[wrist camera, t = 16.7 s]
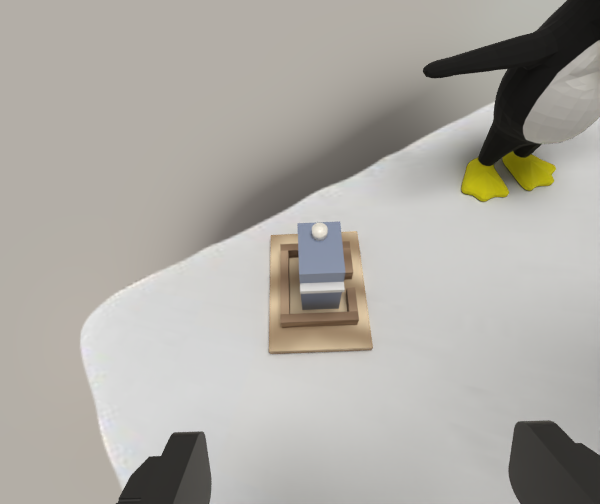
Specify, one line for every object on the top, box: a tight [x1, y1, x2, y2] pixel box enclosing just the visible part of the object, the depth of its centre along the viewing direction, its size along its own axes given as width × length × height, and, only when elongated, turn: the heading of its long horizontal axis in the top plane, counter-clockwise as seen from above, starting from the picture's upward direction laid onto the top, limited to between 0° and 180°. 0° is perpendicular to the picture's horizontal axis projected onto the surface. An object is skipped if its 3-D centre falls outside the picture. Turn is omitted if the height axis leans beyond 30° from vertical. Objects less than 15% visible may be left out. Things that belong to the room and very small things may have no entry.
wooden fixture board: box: [269, 231, 373, 354], centre depth 43 cm, size 16×12×3 cm
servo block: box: [298, 222, 345, 310], centre depth 38 cm, size 8×4×11 cm, turn 2°
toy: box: [423, 0, 600, 201], centre depth 40 cm, size 37×12×30 cm, turn 105°
